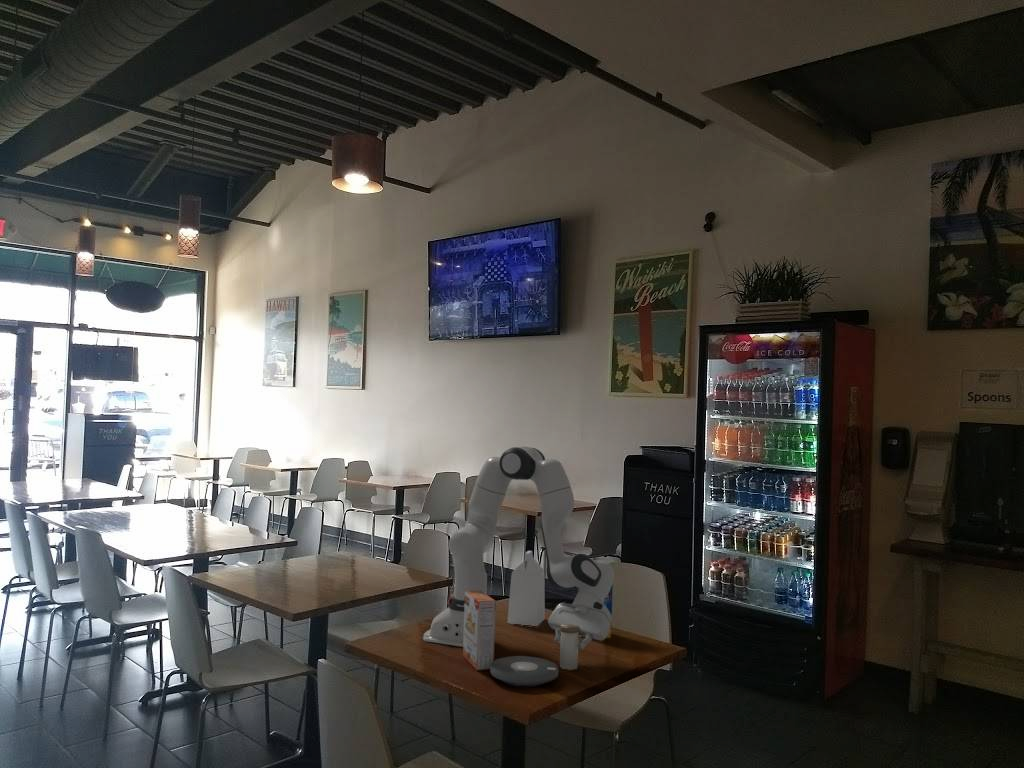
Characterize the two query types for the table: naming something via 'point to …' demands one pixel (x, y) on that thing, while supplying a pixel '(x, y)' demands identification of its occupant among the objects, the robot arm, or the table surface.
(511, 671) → the lazy susan
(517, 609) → the milk
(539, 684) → the lazy susan base
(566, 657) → the jar
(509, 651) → the table surface
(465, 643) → the cracker box
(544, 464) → the robot arm
